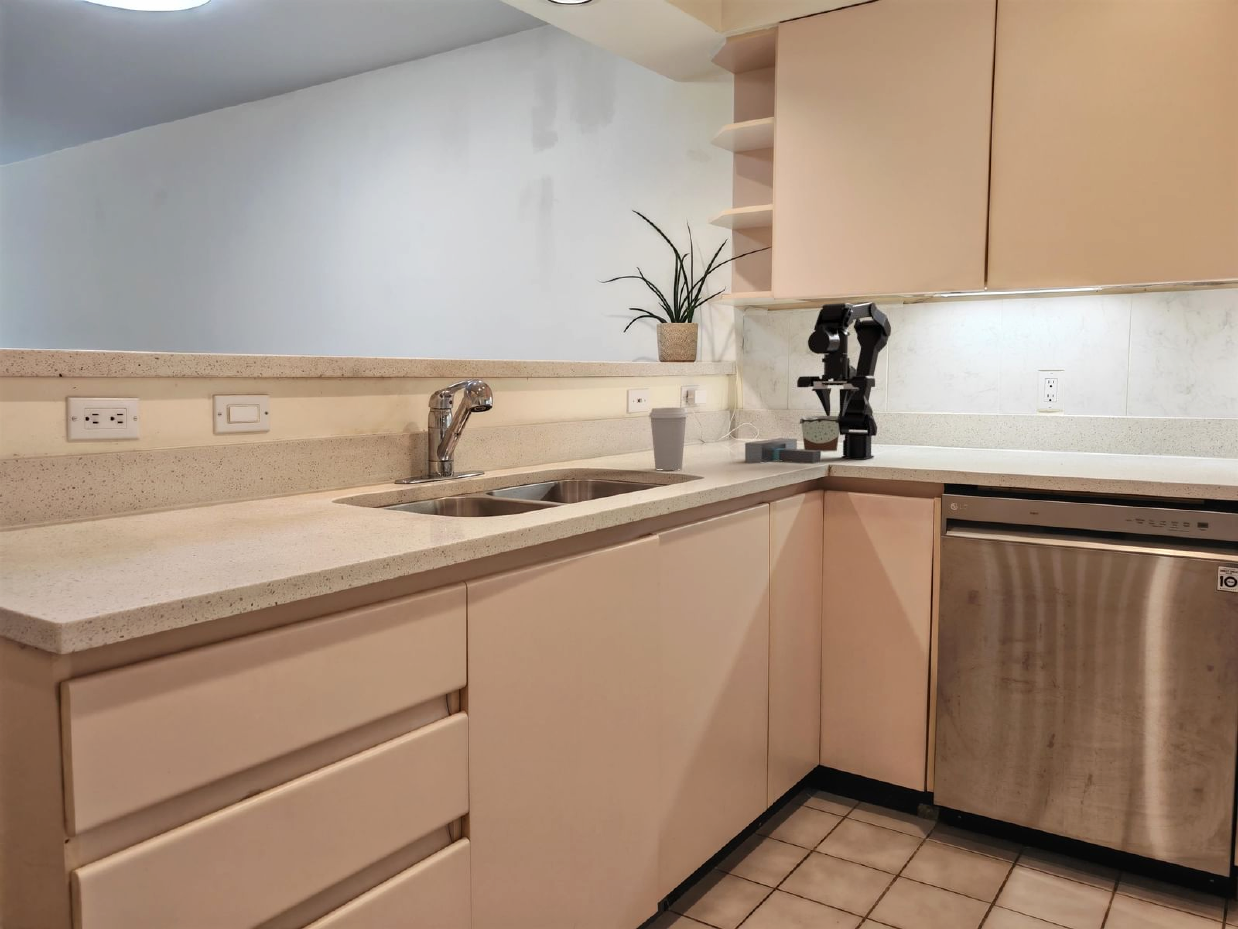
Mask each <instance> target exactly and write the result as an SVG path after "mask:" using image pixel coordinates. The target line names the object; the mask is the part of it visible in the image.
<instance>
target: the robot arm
mask: <svg viewBox="0 0 1238 929" xmlns="http://www.w3.org/2000/svg"><path fill="white" fill-rule="evenodd" d="M865 318H871V319H868V320H862V321H861V319H865ZM854 320H855V322H854ZM853 323H854V324H853ZM852 324H853V328H854V329H853V330H854V332H855V333H856V341H857V343H858V344H859V345H860V351H859V355H858V360H857V364H856V368H855V367H854V366H853V365H851V362H850V361H851V360H850V357H848V353H849V351H848V350H849V349H848V348H849V347H848V346H849V345H848V343H849V339H848V337H850V335H851V334H850V333H851V332H850V331H849V330H848V328H849V327H850V325H852ZM813 328H814V331H813V332H812V333H811V334H810V336H809V337H808V339H807V346H808V348H809V350H810V351H811V352H812V353H814V354H817V355H823V357H822V358H821V363H823V374H822V375H821V378H820V376H819V375H810V376H809V375H807V376H806V375H805V376H803V375H802V376H799V377H798V378H797V381H796V388H812V389H811V391H812V392H815V394H816V396H817V398H818V399H819V401H820V404H821V406H822V407H823V410H824V412H825V416H831V392H832V388H829V387H828V386H842V387H843V388H839V413H838V415H837V416H838V425H839V436H844V440H842V455H841V459H854V460H855V459H856V460H867V459H871V458H872V459H873V458H874V457H875V455H873V454H872V437H873V436H875V437H876V436H877V433H878V426H877V423H876V420H875V418H874V415H873V413H874V411H873V408H872V407H871V404H870V397H871V392H872V388H876V379H875V377H874V376H875V371H876V366H877V363H878V362H877V361H878V357H879V354H880V352H881V351H882V350H883V349H884V348H885V347H886V346H887V344H888V341H889V338H890V336H891V333H892V326H891V324H890V322H889V318H888V316H887V314H885V313H883V311H881V310H880V309H878V307H877V306H876V304H875V302H872V301H862V302H859V301H858V302H856V303H854V304H853V303H848V302H840V303H839V302H838V303H825V304H823V305H822V307H821V308H820V311H819V312H818V316H817V319H816V321H815V325H814V327H813Z"/></svg>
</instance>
